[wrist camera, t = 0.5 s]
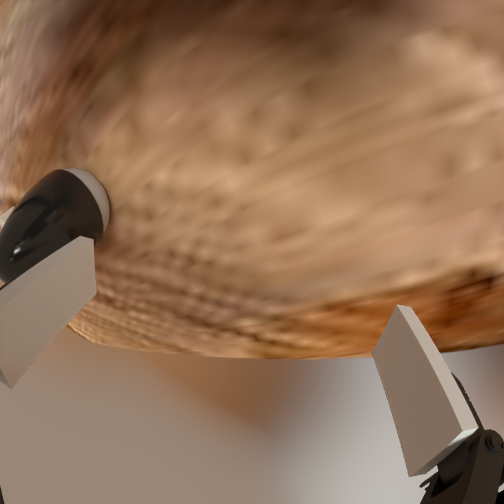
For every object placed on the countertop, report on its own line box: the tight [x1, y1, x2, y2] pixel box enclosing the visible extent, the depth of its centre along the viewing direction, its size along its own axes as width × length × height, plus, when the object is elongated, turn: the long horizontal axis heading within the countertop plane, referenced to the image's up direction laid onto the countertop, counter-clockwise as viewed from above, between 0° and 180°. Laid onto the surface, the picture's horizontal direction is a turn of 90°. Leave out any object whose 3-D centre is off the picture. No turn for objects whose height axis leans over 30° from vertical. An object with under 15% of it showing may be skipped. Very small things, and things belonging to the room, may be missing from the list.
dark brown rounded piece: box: [0, 168, 110, 284], centre depth 24 cm, size 10×10×15 cm
